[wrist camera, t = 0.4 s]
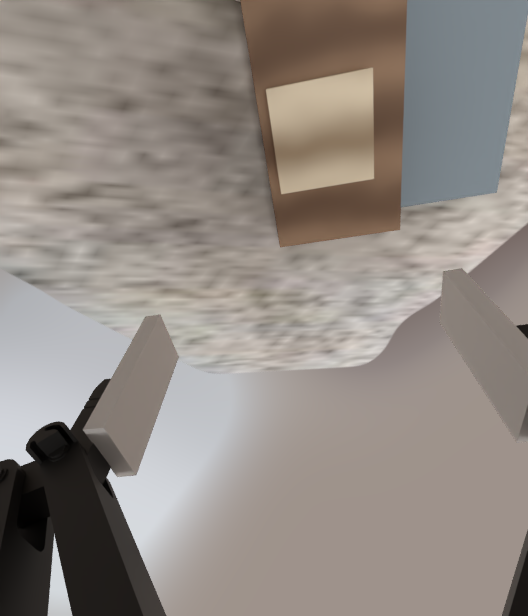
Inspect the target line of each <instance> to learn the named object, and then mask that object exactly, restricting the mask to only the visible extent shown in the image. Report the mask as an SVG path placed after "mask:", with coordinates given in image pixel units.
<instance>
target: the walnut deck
mask: <svg viewBox="0 0 528 616" xmlns="http://www.w3.org/2000/svg"><path fill="white" fill-rule="evenodd" d="M240 2H241V8H242V14H243V20H244V26H245V32H246V39H247V45H248V51H249V57H250V63H251V70H252V76H253V82H254V88H255V94H256V101H257V107H258V113H259V119H260V125H261V132H262V138H263V144H264V150H265V156H266V163H267V169H268V175H269V181H270V187H271V194H272V200H273V206H274V212H275V218H276V225H277V231H278V237H279V243H280V247H285V246H292V245H299V244H306V243H312V242H319V241H326V240H333V239H340V238H346V237H353V236H360V235H367V234H374V233H380V232H387V231H394V230H400V213H401V182H402V150H403V118H404V87H405V55H406V23H407V0H240ZM365 68H373V115H374V179H370V180H364V181H358V182H352V183H346V184H340V185H334V186H328V187H322V188H316V189H310V190H304V191H298V192H292V193H286V194H281V189H280V182H279V176H278V169H277V162H276V155H275V148H274V142H273V135H272V128H271V121H270V114H269V108H268V101H267V94H266V89H267V88H272V87H277V86H282V85H287V84H292V83H297V82H302V81H306V80H311V79H316V78H321V77H326V76H331V75H336V74H341V73H345V72H350V71H355V70H360V69H365Z"/></svg>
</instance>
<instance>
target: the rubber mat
mask: <svg viewBox="0 0 528 616" xmlns="http://www.w3.org/2000/svg"><path fill="white" fill-rule="evenodd" d="M527 15H528V0H407V23H406V55H405V87H404V118H403V150H402V182H401V207H406V206H413V205H419V204H425V203H432V202H438V201H445V200H451V199H458V198H464V197H471V196H477V195H484V194H490V193H496V192H497V188H498V182H499V177H500V171H501V165H502V159H503V154H504V148H505V142H506V136H507V131H508V125H509V119H510V113H511V107H512V102H513V96H514V90H515V84H516V79H517V73H518V67H519V61H520V56H521V50H522V44H523V38H524V33H525V27H526V21H527Z"/></svg>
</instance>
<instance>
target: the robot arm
mask: <svg viewBox="0 0 528 616" xmlns="http://www.w3.org/2000/svg"><path fill="white" fill-rule="evenodd" d="M439 321H440V324H441V325H442V327H443V329H444V330H445V331H446V333H447V335H448V336H449V338H450V339H451V341H452V343H453V344H454V346H455V347H456V349H457V350H458V352H459V353H460V355H461V356H462V358H463V360H464V361H465V363H466V364H467V366H468V368H469V369H470V371H471V372H472V374H473V375H474V377H475V379H476V380H477V381H478V383H479V385H480V386H481V388H482V389H483V391H484V393H485V394H486V396H487V397H488V399H489V400H490V402H491V403H492V405H493V406H494V408H495V410H496V411H497V413H498V414H499V416H500V418H501V419H502V421H503V422H504V424H505V425H506V427H507V428H508V430H509V432H510V433H511V435H512V436H513V438H514V439H515V441H516V442H517V443H519V442H528V324H526V325H518V326H515V325H514V324H513V322H512V321H511V320H510V319H509V318H508V317H507V316H506V315H505V314H504V313H503V312H502V311H501V310H500V309H499V307H498V306H497V305H496V304H495V303H494V302H493V301H492V300H491V299H490V298H489V297H488V296H487V295H486V294H485V293H484V291H483V290H482V289H481V288H480V287H479V286H478V285H477V284H476V283H475V282H474V281H473V280H472V279H471V278H470V276H469V275H468V274H467V273H466V272H465V271H464V270H463V269H462V268H461V269H455V270H448V271H443V282H442V295H441V307H440V320H439ZM178 358H179V356H178V354H177V352H176V350H175V347H174V345H173V343H172V340H171V338H170V336H169V334H168V331H167V329H166V327H165V324H164V322H163V320H162V317H161V315H154V316H147V317H145V319H144V320H143V322H142V324H141V326H140V328H139V329H138V331H137V333H136V335H135V337H134V338H133V340H132V342H131V344H130V346H129V348H128V349H127V351H126V353H125V355H124V357H123V358H122V360H121V362H120V364H119V365H118V367H117V369H116V371H115V373H114V374H113V376H112V378H111V379H105V380H104V381H102V382H101V383H100V384H99V385H98V386H97V387H96V388H95V390H94V391H93V393H92V394H91V396H90V398H89V401H87V403H86V405H85V406H84V409H83V410H82V411H81V413H80V415H79V416H78V418H77V420H76V421H75V423H74V425H73V427H72V428H71V430H69V428H68V427H67V426H66V425H65V424H64V423H63V422H53V423H50V424H48V425H46V426H44V427H42V428H41V429H39V430H38V431H37V432H36V433H35V434H34V435H33V436H32V437H31V438H30V439H29V441H28V443H27V444H26V451H27V452H28V453H29V454H30V455H31V457H33V459H34V460H35V461H33V462H31V463H28V464H25V465H23V466H20V465H19V464H18V463H17V462H16V461H14V460H10V459H7V460H4V461H1V462H0V616H47V614H48V602H49V589H50V576H51V565H52V552H53V540H54V534H55V538H56V543H57V547H58V552H59V557H60V561H61V566H62V570H63V575H64V579H65V584H66V588H67V593H68V597H69V602H70V606H71V611H72V615H73V616H166V614H165V612H164V609H163V607H162V605H161V602H160V600H159V598H158V595H157V593H156V591H155V588H154V586H153V583H152V581H151V579H150V576H149V574H148V571H147V569H146V567H145V564H144V562H143V560H142V557H141V555H140V553H139V550H138V548H137V545H136V543H135V541H134V539H133V536H132V533H131V531H130V529H129V527H128V524H127V522H126V519H125V517H124V515H123V512H122V510H121V507H120V505H119V503H118V500H117V498H116V496H115V493H114V491H113V488H112V486H111V484H110V482H109V481H108V479H107V478H106V477H107V475H108V473H109V470H110V468H111V469H112V470H113V472H114V473H115V474H116V476H117V477H122V476H133V475H136V474H137V472H138V469H139V466H140V463H141V460H142V458H143V455H144V452H145V449H146V447H147V443H148V441H149V438H150V435H151V433H152V430H153V427H154V424H155V422H156V419H157V416H158V413H159V410H160V408H161V405H162V402H163V399H164V397H165V394H166V391H167V388H168V385H169V382H170V380H171V377H172V374H173V371H174V369H175V366H176V363H177V360H178ZM502 616H528V531H527V534H526V537H525V541H524V544H523V548H522V551H521V554H520V557H519V561H518V564H517V567H516V571H515V574H514V577H513V580H512V584H511V587H510V590H509V594H508V597H507V600H506V604H505V607H504V611H503V614H502Z"/></svg>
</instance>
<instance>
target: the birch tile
mask: <svg viewBox="0 0 528 616" xmlns="http://www.w3.org/2000/svg"><path fill="white" fill-rule="evenodd" d="M266 94H267V101H268V108H269V114H270V121H271V128H272V135H273V142H274V148H275V155H276V162H277V169H278V176H279V182H280V189H281V194H286V193H292V192H298V191H304V190H310V189H316V188H322V187H328V186H334V185H340V184H346V183H352V182H358V181H364V180H370V179H374V115H373V68H365V69H360V70H355V71H350V72H345V73H341V74H336V75H331V76H326V77H321V78H316V79H311V80H306V81H302V82H297V83H292V84H287V85H282V86H277V87H272V88H267V89H266Z"/></svg>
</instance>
